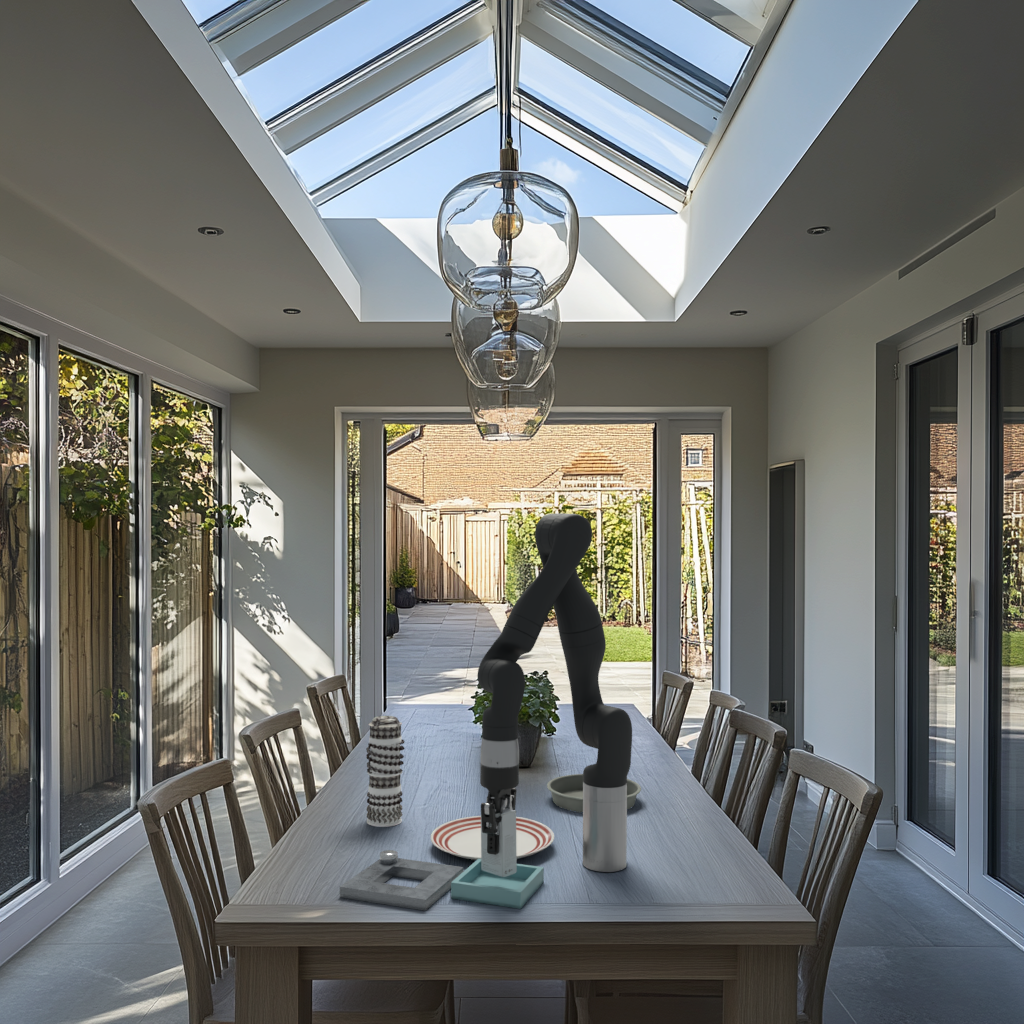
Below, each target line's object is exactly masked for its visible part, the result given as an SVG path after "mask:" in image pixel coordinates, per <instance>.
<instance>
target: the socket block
mask: <svg viewBox="0 0 1024 1024" xmlns="http://www.w3.org/2000/svg"><path fill="white" fill-rule="evenodd" d="M398 854H399V853H398V850H394V849H393V850H392V849H391V850H390V849H389V850H387V849H386V850H382V851H381V852H380V853H379V859H378V860H377V861H375V862H374V863H372V864H370V865H369V866H367V867H366V868H365V869H363V870H362V871H360V872H358V874H356V875H354V876H353V877H351V878H350V879H349V880H347V881H345V882H344V883H343V884H341V885H340V886H339V898H343V899H349V900H356V901H360V902H361V901H362V902H368V903H373V904H381V905H386V906H392V907H393V906H394V907H400V908H405V909H413V910H418V911H428V910H429V908H430V907H432V906H433V905H434V904H435V903H436V902H437V901H439V900H440V899H441V898H442V897H443V896H445V894H446V893H448V892H449V891H451V882H452V881H453V880H454V879H456V878H457V877H458V876H459V875H460V874H461V873H462V872H464V871H465V869H464V866H459V865H450V864H443V863H437V862H430V861H429V862H428V861H421V860H416V859H407V858H406V859H405V858H399V857H398ZM393 877H399V878H403V879H411V880H419V881H421V882H420V883H418V884H417V885H416V886H415V887H414V886H413V887H412V886H411V887H410V886H407V885H405V886H404V885H399V884H391V883H386V882H388V881H389V880H391V878H393Z"/></svg>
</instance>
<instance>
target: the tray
mask: <svg viewBox="0 0 1024 1024" xmlns="http://www.w3.org/2000/svg"><path fill="white" fill-rule="evenodd" d="M544 870H545V868H544V867H543V866H538V865H537V866H536V865H530V864H522V863H517V872H516V873H515V874H512V875H509V876H507V877H501V876H498V875H495V874H492V873H489V872H486V871H483V870H481V859H477V860H476V861H475V860H474V862H472V864H470V865H469V867H468V866H467V868H466V869H464V872H462V873H461V874H460V875H459V876H458V877H457V878H456V879H454V880H453V881H452V882H451V889H450V899H453V900H459V901H465V902H471V903H480V904H485V905H492V906H499V907H505V908H512V909H518V910H519V909H520V910H521V909H522V908H523V907H524V906H525V904H526V903H527V902H528V901H529V900H530V899H531V897H532V896H533V895H534V894H535V893H536V892H537V891H538V889H540V888H541V886H543V884H544V880H545V879H544V878H545V877H544V876H545V875H544V874H545V873H544Z"/></svg>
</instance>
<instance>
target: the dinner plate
mask: <svg viewBox="0 0 1024 1024" xmlns="http://www.w3.org/2000/svg"><path fill="white" fill-rule="evenodd" d="M554 841H555V833H554V831H553V830H552V829H551V828H550V827H549V826H547V825H546V824H544V823H541V822H540V821H537V820H534V819H530V818H527V817H521V816H516V853H517V860H519V859H523V858H526V857H530V856H533V855H536V854H537V853H539V852H542V851H544V850H545V849H547V848H548V847H550V846H551V845H552V843H554ZM430 842H431V843H432V844H433V846H434V847H436V848H437V849H439V850H441V851H442V852H445V853H447V854H451V855H453V856H456V857H459V858H461V859H462V858H463V859H467V860H469V859H471V860H470V861H475V860H477V859H481V815H475V816H466V817H461V818H457V819H453V820H450V821H447V822H445V823H443V824H440V825H438V826H437V827H436V828H435V829H434V830H433V831H432V833H431V834H430Z"/></svg>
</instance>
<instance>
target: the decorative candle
mask: <svg viewBox="0 0 1024 1024" xmlns="http://www.w3.org/2000/svg"><path fill="white" fill-rule="evenodd" d="M402 724H403V722H400V721H399V718H398V717H396V716H393V715H378V716H375V717H373V718H372V720H371V722H369V723H368V726H369V736H368V737H369V738H368V744H367V747H366V753H367V754H366V759H367V760H368V762H366V767H367V769H366V773H367V775H369V780H368V781H369V783H368V791H367V793H366V797H368V798H367V799H366V803H367V804H368V805H367V806H366V811H367V813H366V824H368V825H369V826H372V827H378V828H386V827H387V828H388V827H395V826H398V825H399V824H401V823H402V822H403V820H402V819H403V818H402V817H403V812H402V810H403V805H402V804H401V803H402V802H403V798H402V796H403V791H402V783H401V775H402V774H403V771H404V770H403V769H402V768H401V766H402V765H404V761H402V760H403V759H404V757H405V755H404V754H402V753H401V752H402V751H403V750H405V746H404V745H403V744H405V740H404V739H402Z"/></svg>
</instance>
